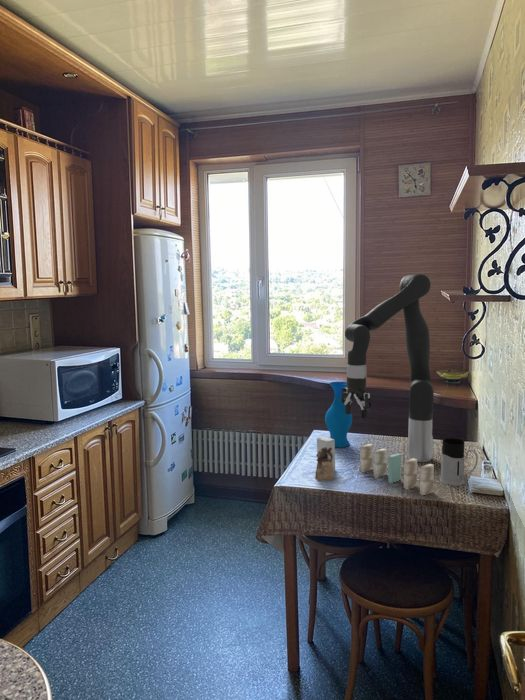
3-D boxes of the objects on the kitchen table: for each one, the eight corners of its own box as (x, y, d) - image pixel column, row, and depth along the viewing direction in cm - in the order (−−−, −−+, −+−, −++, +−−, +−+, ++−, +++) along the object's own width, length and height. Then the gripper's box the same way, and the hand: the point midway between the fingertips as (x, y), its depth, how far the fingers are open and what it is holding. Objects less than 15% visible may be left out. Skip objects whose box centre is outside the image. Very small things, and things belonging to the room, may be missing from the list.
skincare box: (335, 469, 206) (335, 439, 204) (327, 471, 203) (327, 441, 201) (324, 465, 210) (324, 435, 209) (316, 467, 208) (316, 437, 206)
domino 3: (397, 479, 195) (397, 453, 194) (400, 480, 194) (401, 454, 192) (388, 482, 192) (388, 455, 191) (391, 483, 191) (392, 457, 189)
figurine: (319, 473, 202) (319, 442, 200) (336, 476, 198) (337, 445, 197) (312, 479, 196) (312, 448, 194) (330, 482, 192) (330, 450, 191)
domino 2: (382, 473, 201) (383, 448, 199) (386, 474, 199) (386, 449, 198) (373, 476, 198) (374, 450, 196) (377, 477, 196) (377, 451, 195)
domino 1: (369, 468, 206) (369, 443, 205) (372, 469, 205) (372, 444, 204) (360, 471, 203) (360, 446, 202) (363, 472, 202) (363, 447, 201)
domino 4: (412, 485, 189) (413, 458, 188) (416, 486, 188) (417, 459, 187) (403, 488, 186) (404, 461, 185) (407, 489, 185) (408, 462, 184)
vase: (356, 442, 239) (357, 382, 235) (345, 450, 228) (346, 387, 224) (331, 439, 245) (331, 379, 241) (320, 446, 234) (320, 384, 230)
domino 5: (429, 491, 184) (429, 463, 182) (432, 492, 182) (433, 464, 181) (419, 494, 181) (420, 466, 179) (423, 496, 180) (424, 468, 178)
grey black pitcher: (449, 474, 199) (450, 436, 197) (483, 486, 187) (485, 445, 185) (434, 479, 194) (435, 440, 192) (468, 492, 182) (470, 450, 180)
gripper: (336, 374, 208) (336, 414, 210) (362, 379, 196) (361, 422, 198) (350, 372, 212) (350, 411, 214) (377, 377, 200) (375, 419, 202)
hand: (355, 416), depth 206 cm, fingers open, 8 cm apart
